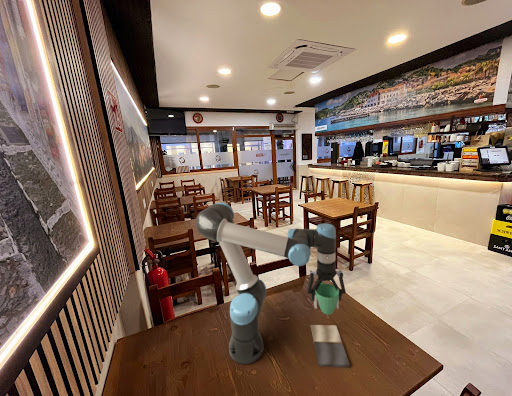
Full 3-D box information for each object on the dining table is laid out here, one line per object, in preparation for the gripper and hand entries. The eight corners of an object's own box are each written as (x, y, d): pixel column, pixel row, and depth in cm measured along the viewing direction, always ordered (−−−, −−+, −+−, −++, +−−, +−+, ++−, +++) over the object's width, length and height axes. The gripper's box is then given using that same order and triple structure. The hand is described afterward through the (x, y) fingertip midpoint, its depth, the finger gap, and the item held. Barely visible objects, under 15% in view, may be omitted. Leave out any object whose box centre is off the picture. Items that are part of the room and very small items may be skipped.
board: (318, 366, 88) (318, 363, 88) (310, 327, 108) (310, 324, 107) (349, 367, 87) (349, 364, 87) (336, 327, 107) (336, 324, 106)
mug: (343, 317, 92) (343, 296, 90) (320, 320, 91) (320, 299, 89) (328, 295, 106) (328, 276, 104) (308, 298, 105) (308, 279, 103)
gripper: (301, 264, 91) (302, 312, 96) (355, 264, 89) (353, 312, 94) (299, 256, 99) (300, 300, 103) (349, 255, 96) (348, 301, 101)
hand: (326, 306), depth 99 cm, fingers closed on mug, 9 cm apart
